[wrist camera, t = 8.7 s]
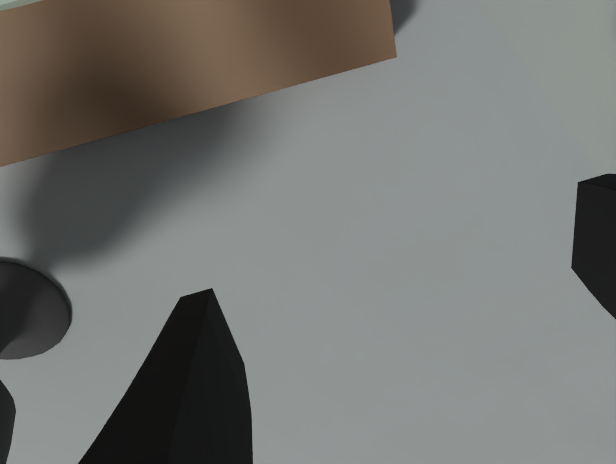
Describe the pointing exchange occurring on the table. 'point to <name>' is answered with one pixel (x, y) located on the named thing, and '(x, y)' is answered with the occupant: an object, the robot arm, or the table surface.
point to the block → (14, 3)
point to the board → (165, 60)
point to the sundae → (26, 329)
